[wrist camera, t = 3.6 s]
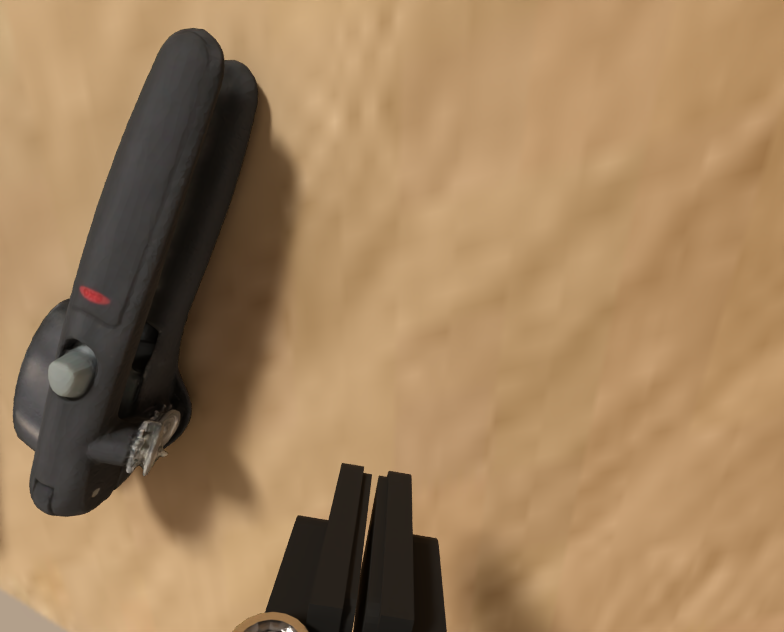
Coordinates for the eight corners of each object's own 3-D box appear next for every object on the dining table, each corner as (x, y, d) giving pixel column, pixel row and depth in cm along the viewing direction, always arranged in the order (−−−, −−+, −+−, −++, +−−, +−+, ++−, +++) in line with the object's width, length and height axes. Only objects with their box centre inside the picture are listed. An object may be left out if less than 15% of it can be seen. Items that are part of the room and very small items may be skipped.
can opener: (179, 478, 22) (104, 575, 17) (34, 415, 22) (-92, 494, 16) (337, 106, 17) (304, 74, 12) (157, 11, 17) (37, -67, 11)
